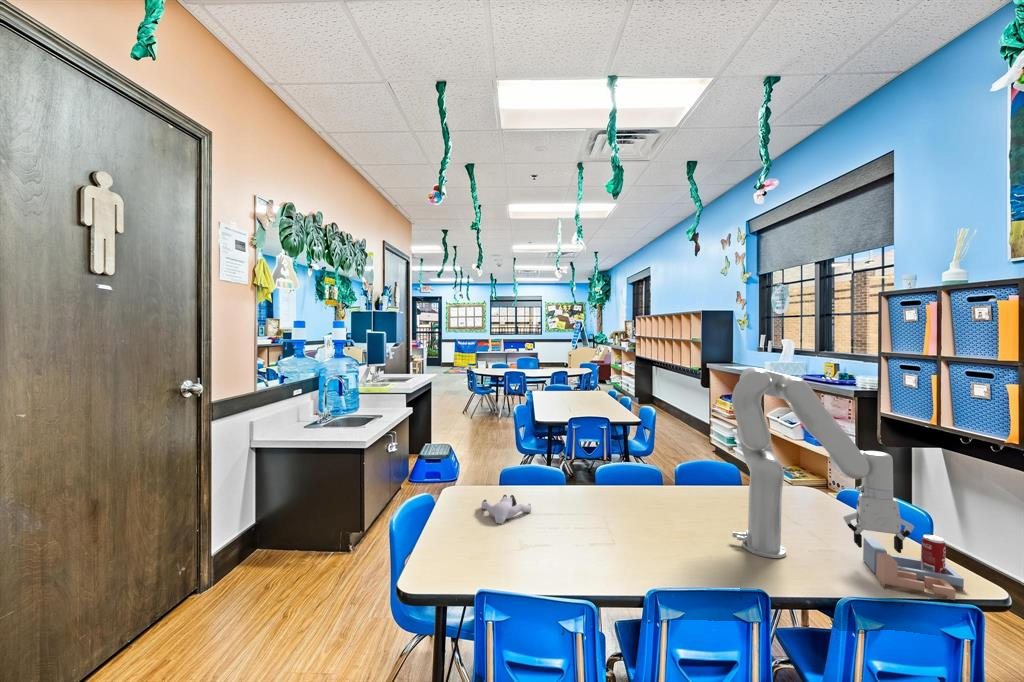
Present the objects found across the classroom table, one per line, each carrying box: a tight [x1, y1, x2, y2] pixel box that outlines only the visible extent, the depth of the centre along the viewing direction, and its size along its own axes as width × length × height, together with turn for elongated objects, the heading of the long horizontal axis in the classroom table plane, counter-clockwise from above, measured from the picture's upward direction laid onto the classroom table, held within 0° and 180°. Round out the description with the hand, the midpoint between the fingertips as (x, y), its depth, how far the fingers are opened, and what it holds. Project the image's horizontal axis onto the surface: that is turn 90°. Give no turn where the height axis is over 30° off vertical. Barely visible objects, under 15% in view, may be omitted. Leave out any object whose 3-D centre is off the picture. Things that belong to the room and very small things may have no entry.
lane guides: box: [883, 579, 964, 601], centre depth 131 cm, size 20×19×1 cm
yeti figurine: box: [481, 494, 532, 525], centre depth 173 cm, size 20×7×20 cm
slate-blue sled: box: [862, 536, 965, 590], centre depth 134 cm, size 20×9×7 cm, turn 68°
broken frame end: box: [924, 576, 956, 601], centre depth 125 cm, size 4×6×3 cm
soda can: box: [920, 534, 947, 574], centre depth 132 cm, size 5×5×12 cm
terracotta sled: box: [875, 552, 926, 591], centre depth 128 cm, size 9×6×7 cm, turn 68°
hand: (877, 548), depth 138 cm, fingers open, 9 cm apart
